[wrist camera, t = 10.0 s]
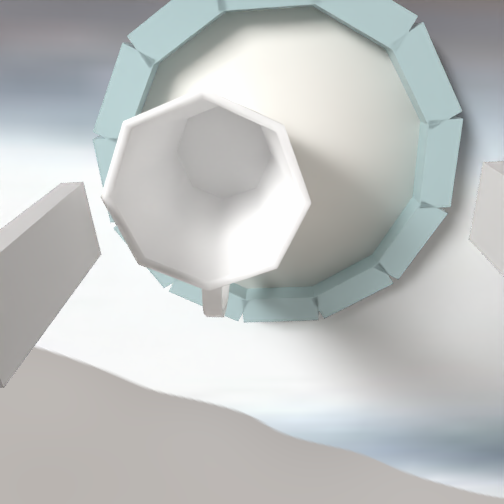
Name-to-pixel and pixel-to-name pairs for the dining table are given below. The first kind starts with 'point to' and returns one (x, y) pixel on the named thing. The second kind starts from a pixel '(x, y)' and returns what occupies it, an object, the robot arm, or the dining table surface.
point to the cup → (206, 192)
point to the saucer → (311, 132)
